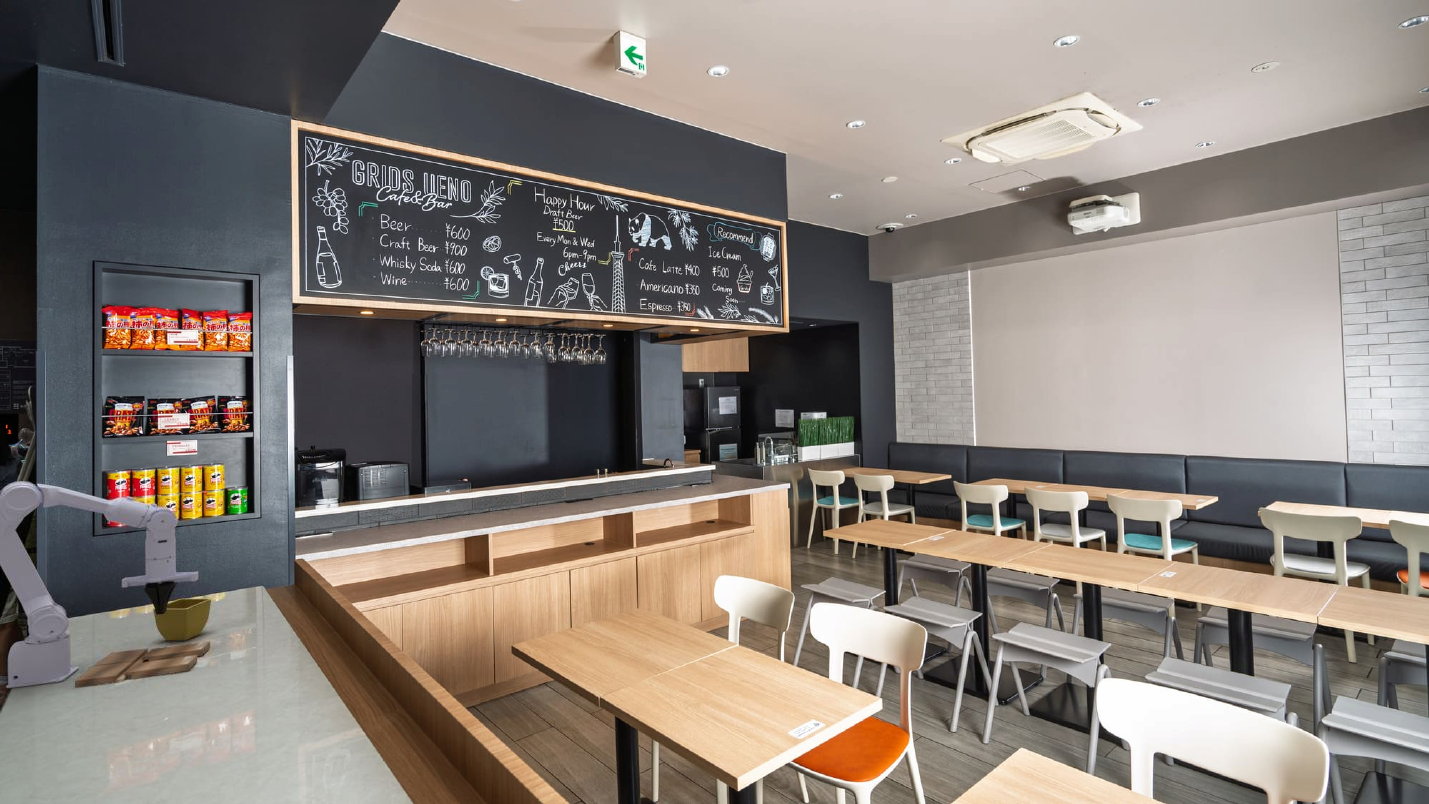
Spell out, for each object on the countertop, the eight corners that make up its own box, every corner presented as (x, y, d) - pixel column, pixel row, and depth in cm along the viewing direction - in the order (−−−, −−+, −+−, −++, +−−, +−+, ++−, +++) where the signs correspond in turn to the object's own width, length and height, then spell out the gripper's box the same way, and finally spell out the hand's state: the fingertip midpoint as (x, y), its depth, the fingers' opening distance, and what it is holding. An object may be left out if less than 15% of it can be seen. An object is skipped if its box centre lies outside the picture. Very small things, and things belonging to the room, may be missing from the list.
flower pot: (186, 643, 173) (186, 608, 173) (152, 644, 173) (152, 608, 173) (212, 632, 181) (212, 598, 181) (180, 632, 182) (180, 598, 182)
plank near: (124, 679, 150) (124, 672, 150) (135, 670, 156) (135, 663, 156) (188, 670, 155) (188, 663, 155) (197, 661, 160) (197, 654, 160)
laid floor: (74, 687, 146) (74, 680, 146) (111, 658, 163) (111, 652, 163) (122, 681, 149) (122, 674, 149) (153, 653, 166) (153, 647, 166)
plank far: (142, 663, 159) (141, 657, 159) (151, 655, 165) (151, 648, 165) (202, 655, 164) (202, 649, 164) (210, 647, 169) (210, 641, 169)
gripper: (116, 563, 159) (116, 622, 159) (191, 558, 165) (192, 614, 165) (128, 557, 166) (129, 613, 166) (200, 552, 171) (201, 606, 171)
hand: (161, 613), depth 166 cm, fingers closed
